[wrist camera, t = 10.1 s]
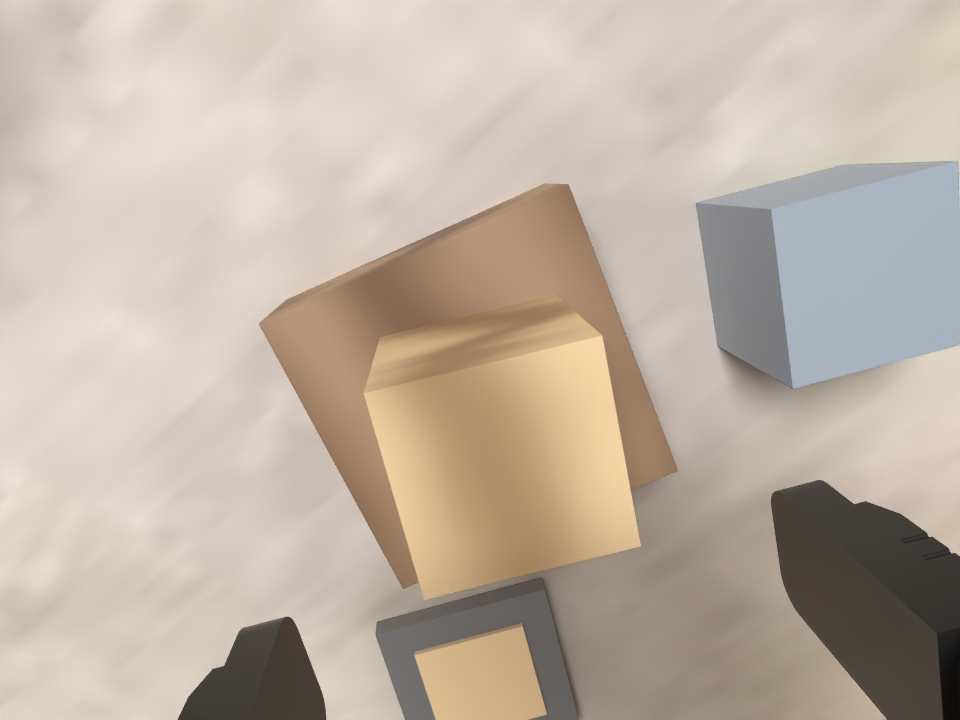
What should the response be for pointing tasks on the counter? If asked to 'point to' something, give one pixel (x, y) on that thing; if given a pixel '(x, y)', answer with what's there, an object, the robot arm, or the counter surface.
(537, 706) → the tile
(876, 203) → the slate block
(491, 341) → the oak block
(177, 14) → the counter surface
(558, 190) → the base block
